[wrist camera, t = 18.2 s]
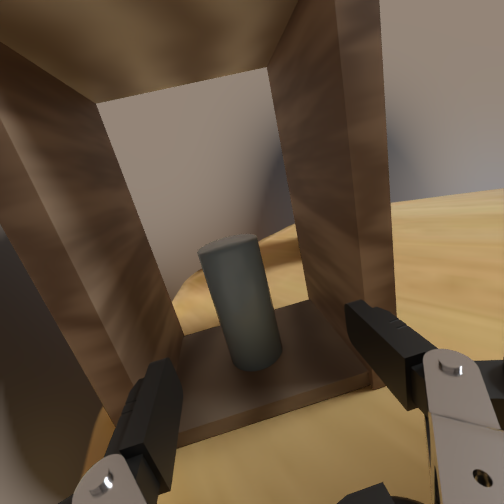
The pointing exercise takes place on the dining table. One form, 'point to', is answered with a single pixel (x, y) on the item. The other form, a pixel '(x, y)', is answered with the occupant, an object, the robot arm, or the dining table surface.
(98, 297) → the open wooden box frame
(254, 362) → the grey cylinder
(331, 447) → the dining table surface
